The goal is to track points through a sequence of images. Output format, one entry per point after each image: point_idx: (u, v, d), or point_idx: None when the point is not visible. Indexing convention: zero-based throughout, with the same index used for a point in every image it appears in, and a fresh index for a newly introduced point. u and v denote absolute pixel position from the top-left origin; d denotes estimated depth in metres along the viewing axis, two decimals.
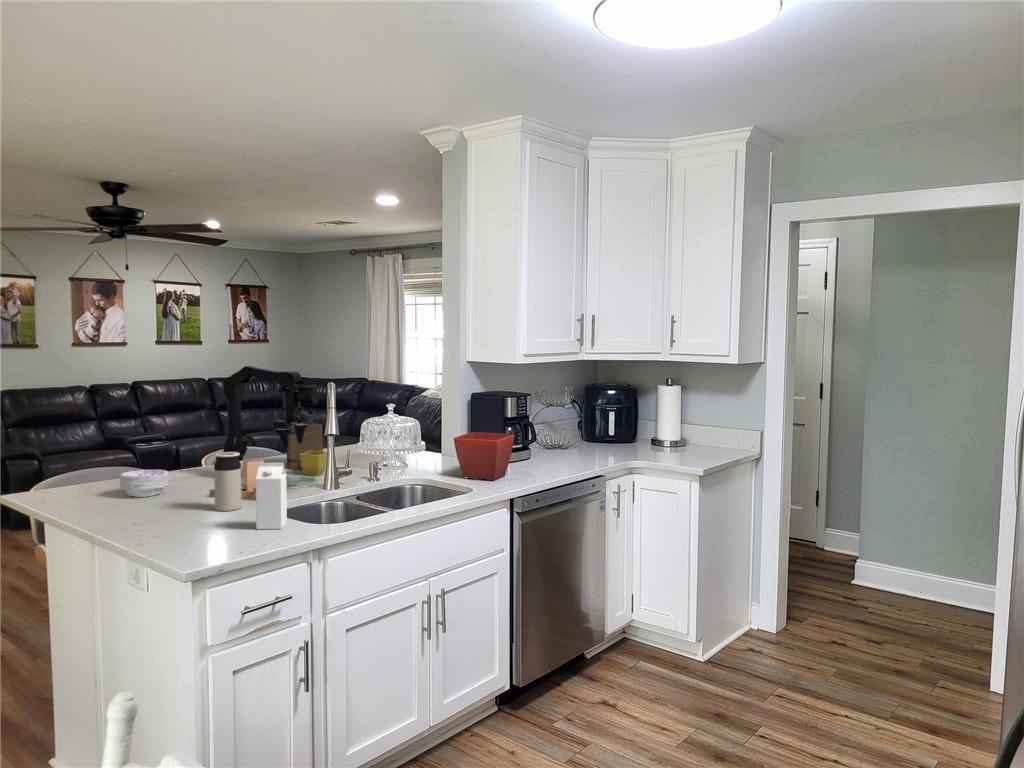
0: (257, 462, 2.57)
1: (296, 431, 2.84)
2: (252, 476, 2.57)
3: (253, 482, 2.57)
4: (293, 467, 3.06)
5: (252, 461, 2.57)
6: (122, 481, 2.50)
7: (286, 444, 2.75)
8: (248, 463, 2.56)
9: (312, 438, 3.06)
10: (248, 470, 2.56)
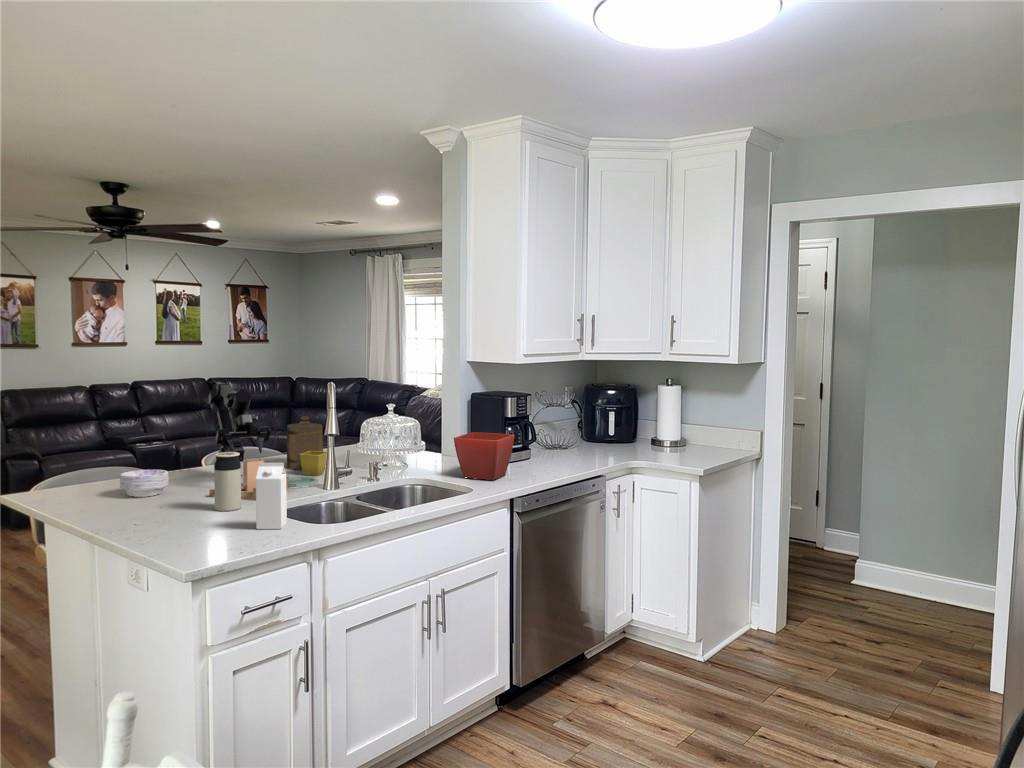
0: (257, 462, 2.57)
1: (258, 444, 2.72)
2: (252, 476, 2.57)
3: (253, 482, 2.57)
4: (293, 467, 3.06)
5: (252, 461, 2.57)
6: (122, 481, 2.50)
7: (233, 451, 2.63)
8: (248, 463, 2.56)
9: (312, 438, 3.06)
10: (248, 470, 2.56)
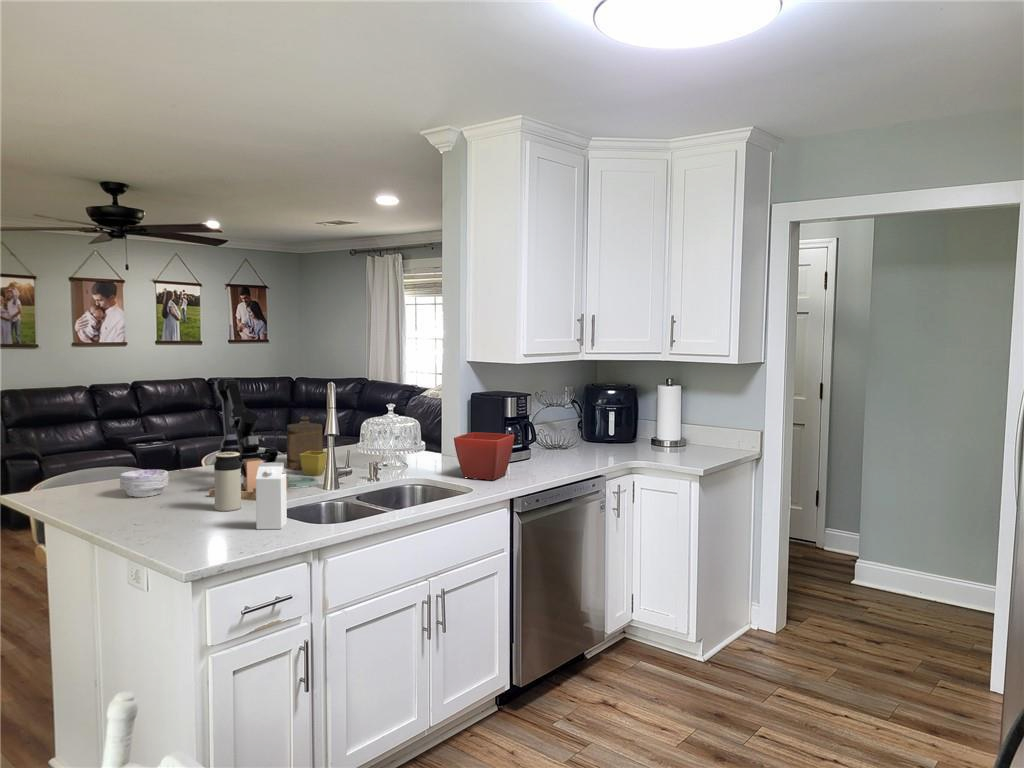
0: (257, 462, 2.57)
1: None
2: (252, 476, 2.57)
3: (253, 482, 2.57)
4: (293, 467, 3.06)
5: (252, 461, 2.57)
6: (122, 481, 2.50)
7: (243, 474, 2.57)
8: (248, 463, 2.56)
9: (312, 438, 3.06)
10: (248, 470, 2.56)
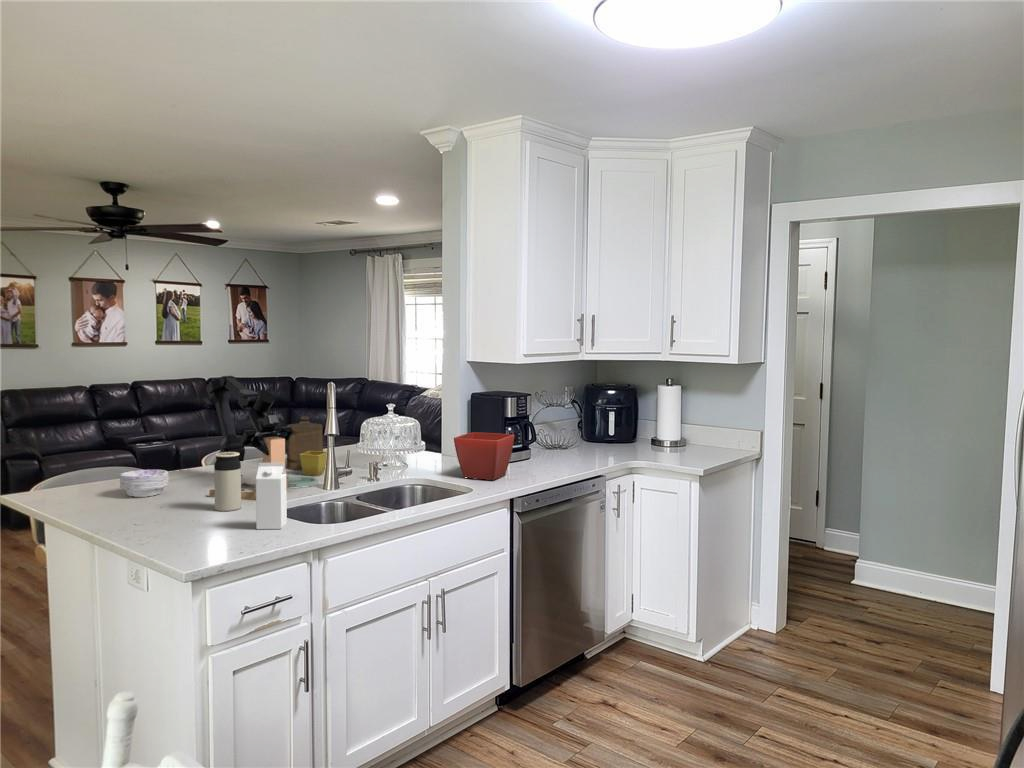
0: (279, 440, 2.64)
1: None
2: (275, 453, 2.63)
3: (276, 459, 2.63)
4: (293, 467, 3.06)
5: (275, 439, 2.63)
6: (122, 481, 2.50)
7: (266, 452, 2.63)
8: (272, 441, 2.62)
9: (312, 438, 3.06)
10: (271, 448, 2.62)
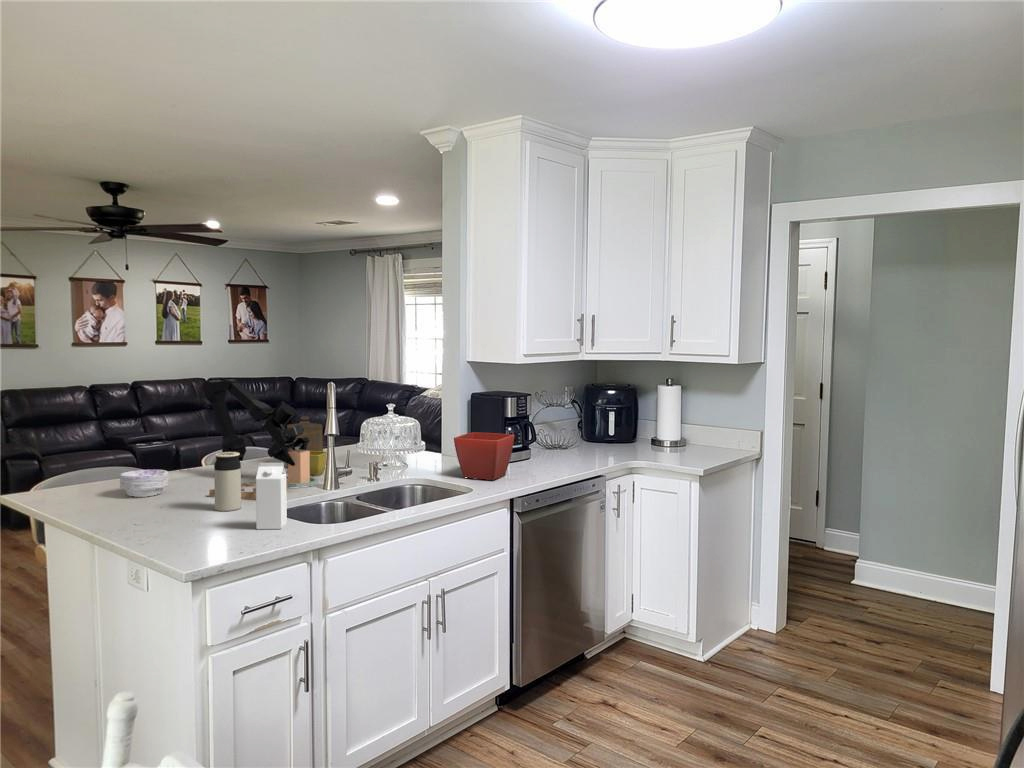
0: (306, 452, 2.76)
1: None
2: (303, 465, 2.74)
3: (303, 471, 2.75)
4: None
5: (302, 452, 2.74)
6: (122, 481, 2.50)
7: (292, 463, 2.71)
8: (301, 454, 2.73)
9: (312, 438, 3.06)
10: (301, 460, 2.73)
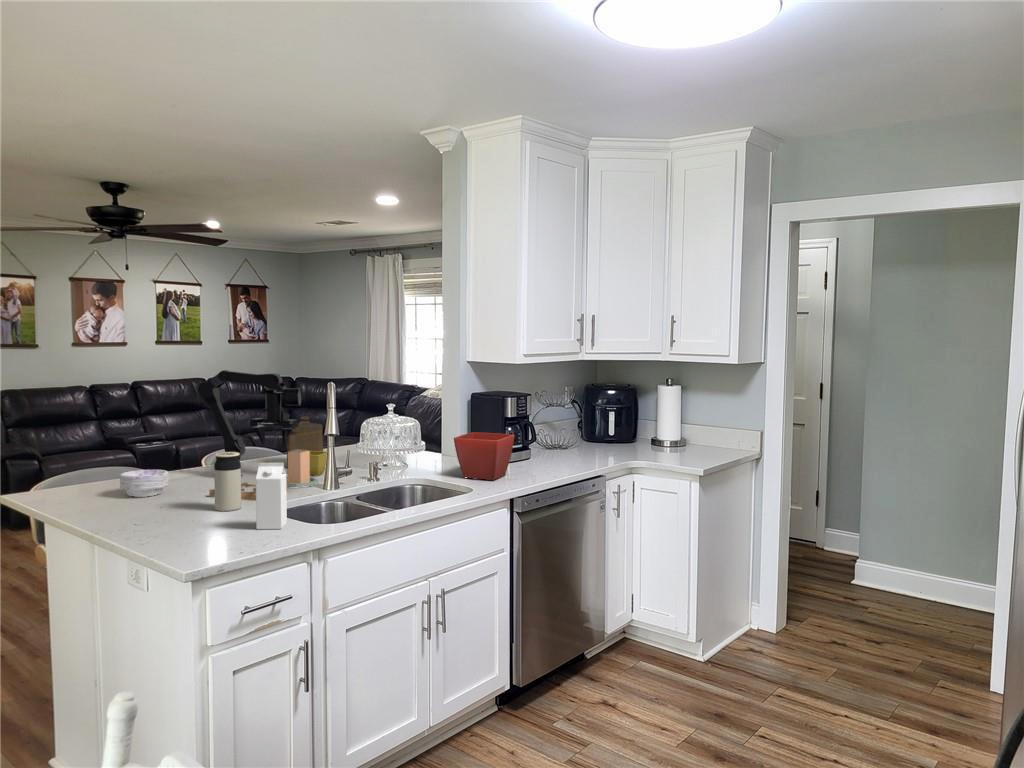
0: (306, 452, 2.76)
1: (260, 433, 2.88)
2: (303, 465, 2.74)
3: (303, 471, 2.75)
4: None
5: (302, 452, 2.74)
6: (122, 481, 2.50)
7: (285, 442, 2.88)
8: (301, 454, 2.73)
9: (312, 438, 3.06)
10: (301, 460, 2.73)
